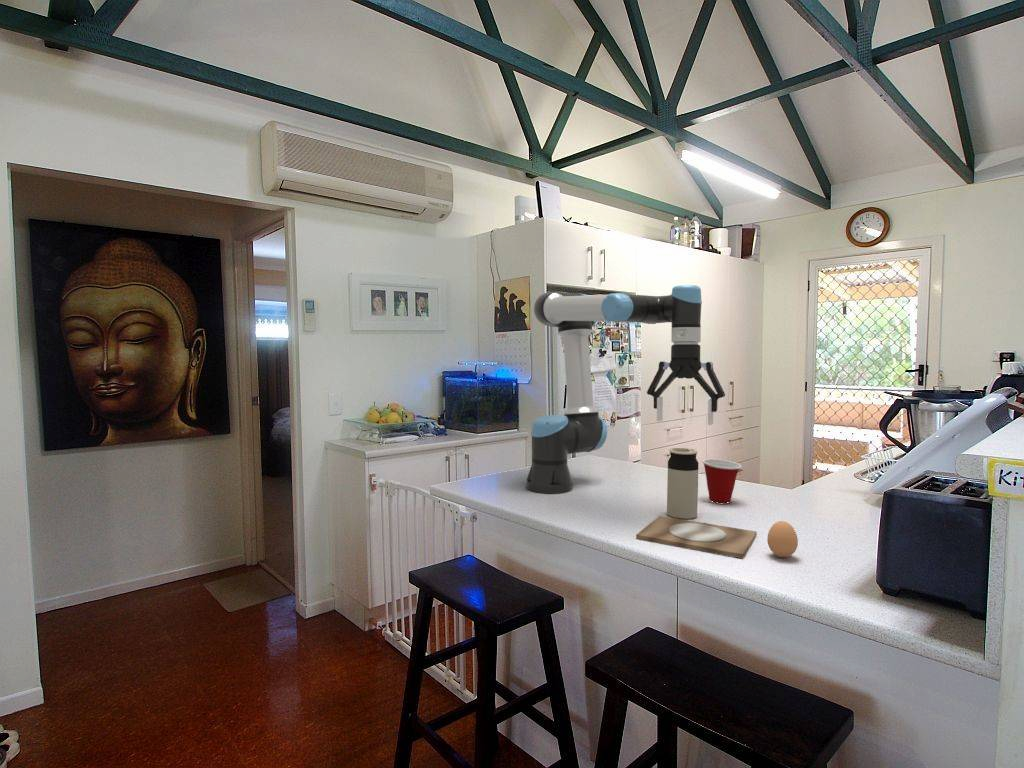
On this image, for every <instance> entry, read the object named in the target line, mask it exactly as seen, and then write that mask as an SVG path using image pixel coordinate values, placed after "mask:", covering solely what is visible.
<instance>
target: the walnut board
mask: <svg viewBox="0 0 1024 768" xmlns="http://www.w3.org/2000/svg"><path fill="white" fill-rule="evenodd" d="M756 535H757V531H755V530H751V529H750V530H749V529H743V528H736V527H731V526H726V525H724V526H723V525H718V524H712V523H705V522H700V521H696V520H695V521H694V520H690V519H678V518H674V517H671V516H662V515H658V516H657V517H656V518H655V519H653V520H652V521H651V522H650V523H649V524H648V525H646V526H645V527H644V528H642V529H641V530H640V531H639V532H638V533H636V535H635V539H637V540H642V541H646V540H647V542H650V543H656V542H657V543H658V544H662V543H663V544H664V545H667V546H672V545H673V547H678V548H682V549H688V548H690V550H693V549H694V551H699V550H700V552H704V551H707V552H706V553H709V552H711V553H710V554H715V553H717V554H716V555H720V554H723V555H722V556H725V555H728V556H727V557H730V556H733V557H732V558H736V557H738V558H737V559H741V558H742V559H744V558H745V556H746V555H747V553H748V551H749V549H750V548H751V546H752V544H753V542H754V541H755V540H756V537H757V536H756ZM663 544H662V545H663ZM749 547H750V548H749ZM746 552H747V553H746Z"/></svg>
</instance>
